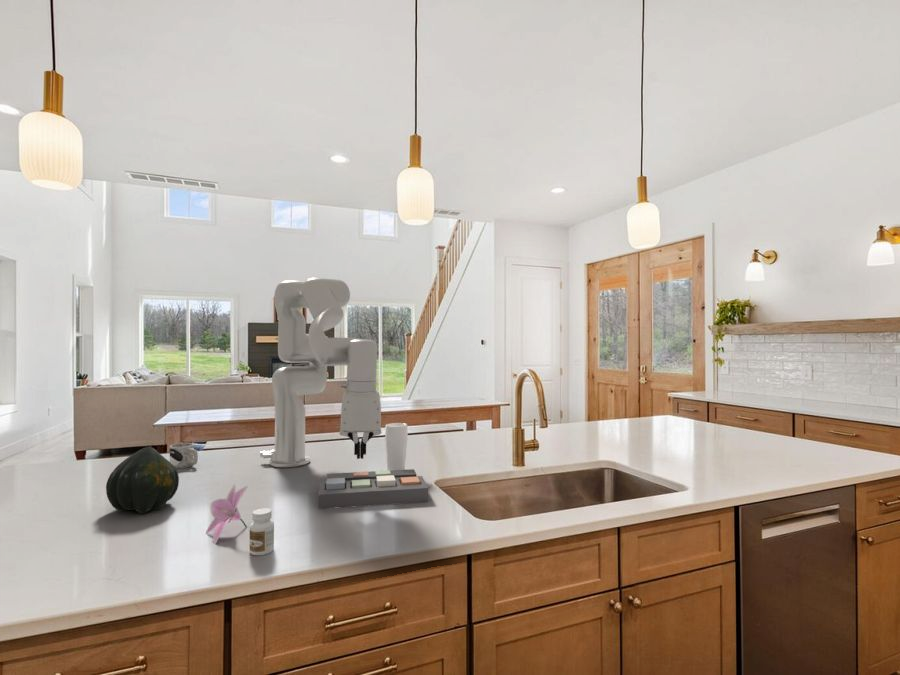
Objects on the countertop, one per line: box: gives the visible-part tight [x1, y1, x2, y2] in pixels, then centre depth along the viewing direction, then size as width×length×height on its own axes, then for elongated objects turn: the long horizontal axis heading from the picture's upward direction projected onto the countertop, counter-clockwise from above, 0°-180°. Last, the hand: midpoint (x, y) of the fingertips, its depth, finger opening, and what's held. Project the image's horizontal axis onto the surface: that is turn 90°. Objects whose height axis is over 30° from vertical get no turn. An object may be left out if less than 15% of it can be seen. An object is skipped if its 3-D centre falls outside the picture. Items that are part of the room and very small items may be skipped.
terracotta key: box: [400, 477, 420, 485], centre depth 126 cm, size 5×5×2 cm
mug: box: [169, 442, 199, 470], centre depth 151 cm, size 10×7×7 cm
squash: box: [105, 446, 180, 514], centre depth 115 cm, size 14×15×15 cm
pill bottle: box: [249, 507, 275, 556], centre depth 92 cm, size 4×4×8 cm
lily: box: [205, 483, 249, 545], centre depth 101 cm, size 12×12×10 cm
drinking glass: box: [384, 422, 409, 471], centre depth 145 cm, size 7×7×15 cm
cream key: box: [376, 475, 396, 487], centre depth 124 cm, size 5×5×2 cm
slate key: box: [325, 478, 345, 490], centre depth 121 cm, size 5×5×2 cm
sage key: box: [352, 479, 370, 488], centre depth 123 cm, size 5×5×2 cm
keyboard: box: [317, 468, 429, 510], centre depth 125 cm, size 27×16×4 cm, turn 102°
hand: (360, 457), depth 123 cm, fingers closed
